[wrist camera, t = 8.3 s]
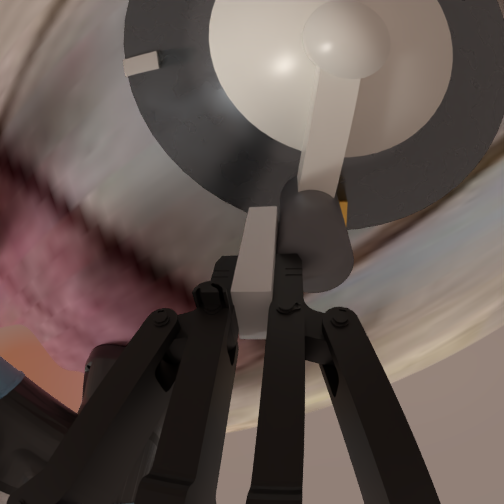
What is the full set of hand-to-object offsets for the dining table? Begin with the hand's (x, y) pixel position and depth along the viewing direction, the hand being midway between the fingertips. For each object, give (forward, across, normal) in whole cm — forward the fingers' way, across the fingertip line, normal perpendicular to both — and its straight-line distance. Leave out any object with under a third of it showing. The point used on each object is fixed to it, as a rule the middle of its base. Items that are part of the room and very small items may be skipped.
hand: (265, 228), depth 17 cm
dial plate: (+7, -5, -10) cm, 13 cm away
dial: (+4, -4, -7) cm, 10 cm away
